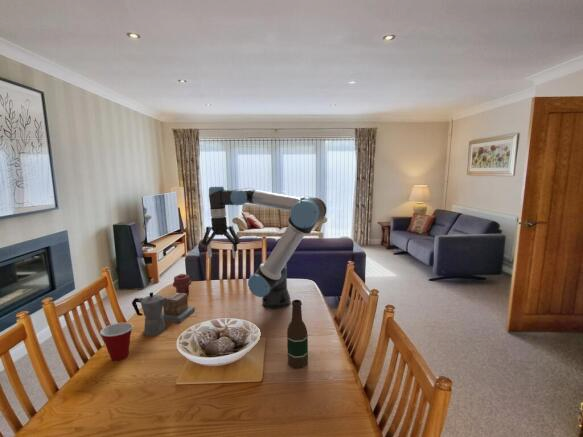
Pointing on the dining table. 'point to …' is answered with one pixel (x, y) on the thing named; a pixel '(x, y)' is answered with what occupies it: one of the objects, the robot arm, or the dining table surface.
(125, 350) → the plastic cup
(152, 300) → the coffeepot
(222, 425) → the dining table surface
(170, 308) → the cardboard box
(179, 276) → the mechanical component
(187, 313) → the shaft stand
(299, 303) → the beer bottle
